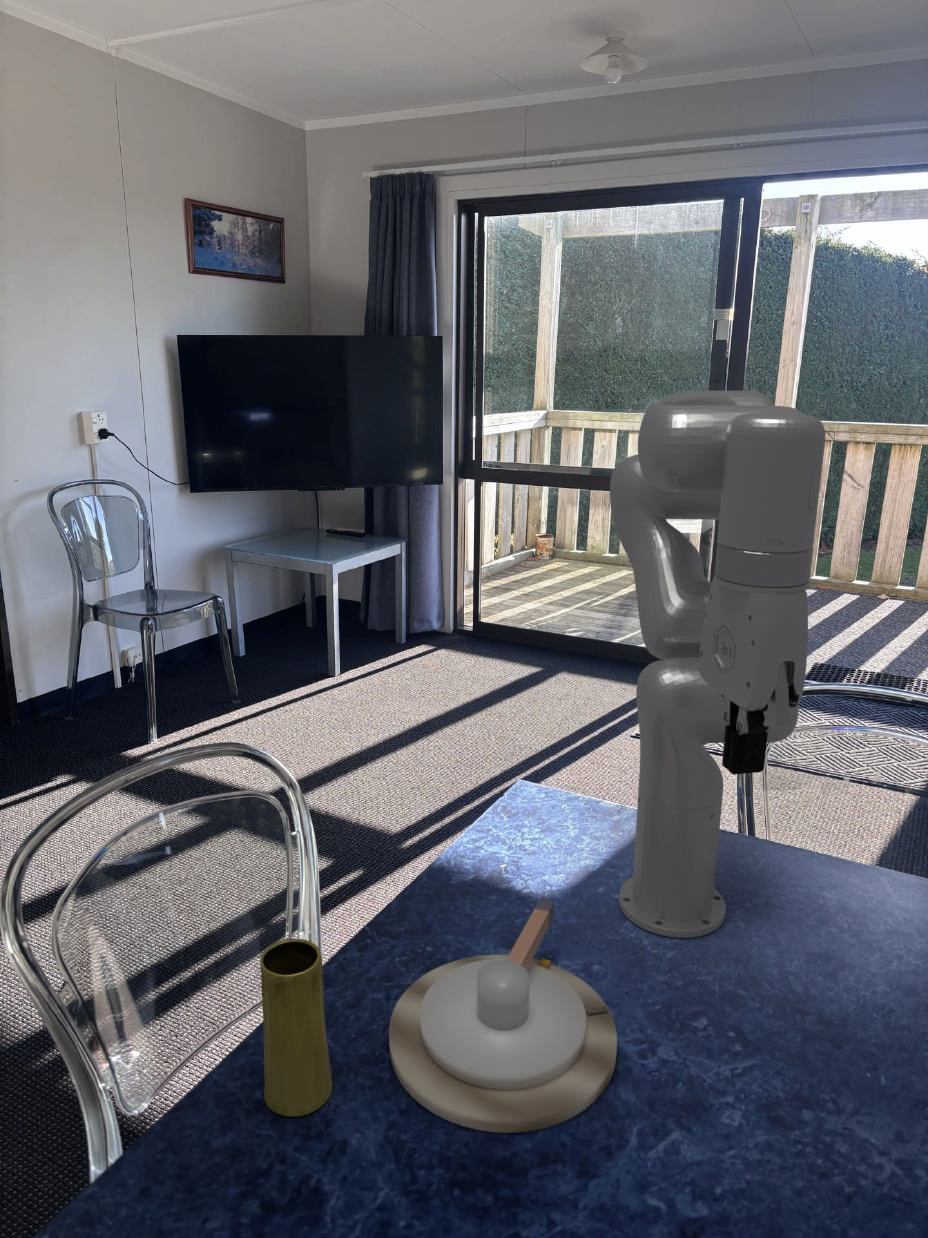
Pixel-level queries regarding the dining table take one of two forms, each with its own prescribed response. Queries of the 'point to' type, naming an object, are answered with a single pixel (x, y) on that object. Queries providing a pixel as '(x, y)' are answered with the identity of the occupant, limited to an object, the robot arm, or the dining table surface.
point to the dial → (505, 1017)
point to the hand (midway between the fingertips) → (742, 769)
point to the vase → (294, 1028)
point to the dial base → (502, 1105)
